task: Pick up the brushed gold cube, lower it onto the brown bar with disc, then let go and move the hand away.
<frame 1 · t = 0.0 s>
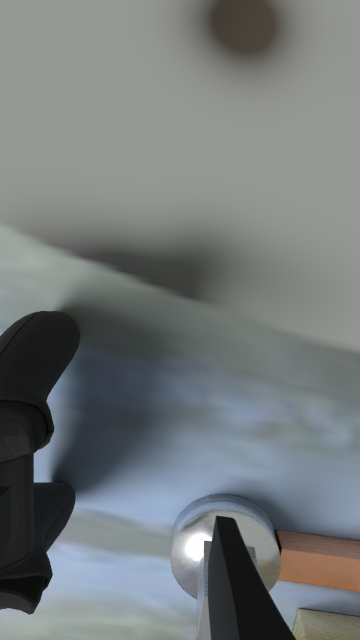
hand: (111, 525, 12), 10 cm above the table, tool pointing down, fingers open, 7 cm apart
brown bar with disc: (223, 537, 24), on the table
gaming controller: (58, 409, 23), on the table
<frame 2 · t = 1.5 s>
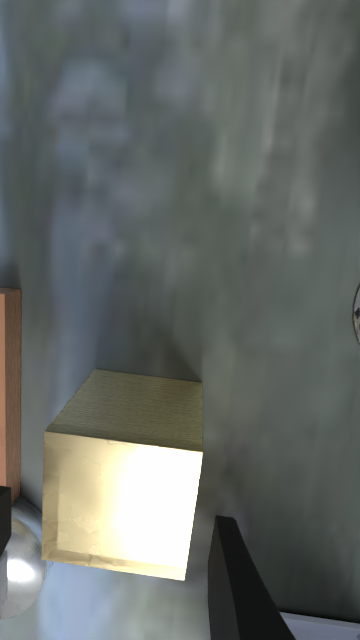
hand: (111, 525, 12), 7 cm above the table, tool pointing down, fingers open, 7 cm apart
brushed gold cube: (143, 424, 19), on the table
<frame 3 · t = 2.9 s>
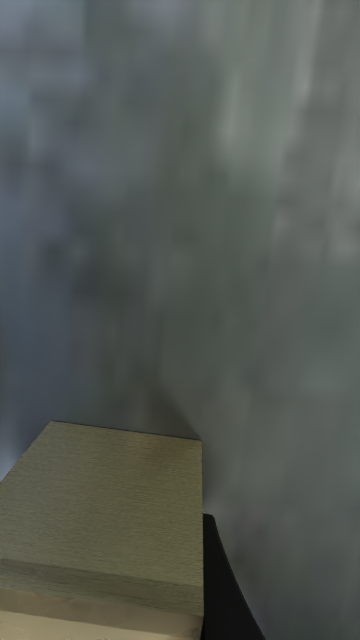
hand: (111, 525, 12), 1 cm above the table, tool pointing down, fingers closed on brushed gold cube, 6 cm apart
brushed gold cube: (120, 495, 13), on the table, touching gripper
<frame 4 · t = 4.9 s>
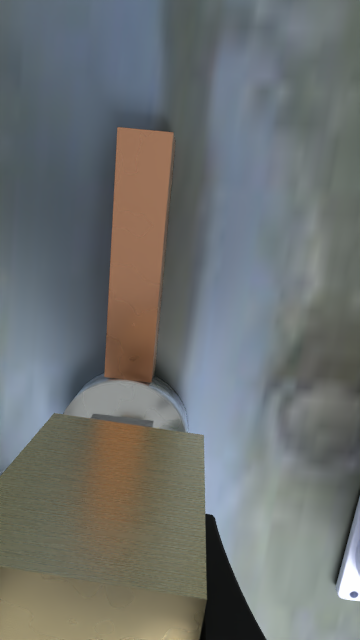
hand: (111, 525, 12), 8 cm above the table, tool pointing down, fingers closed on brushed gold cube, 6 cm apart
brown bar with disc: (129, 424, 20), on the table
brushed gold cube: (121, 488, 13), point 7 cm above the table, touching gripper
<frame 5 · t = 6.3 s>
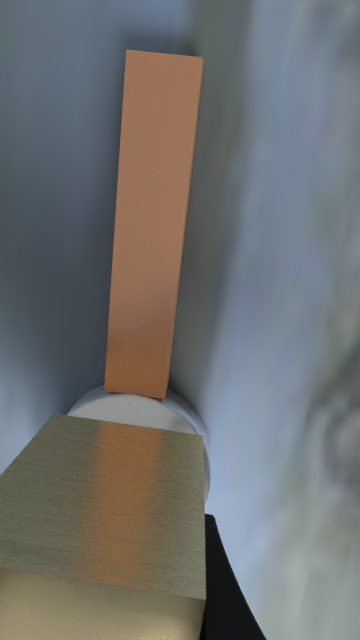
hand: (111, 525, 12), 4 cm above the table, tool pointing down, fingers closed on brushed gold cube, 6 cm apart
brown bar with disc: (134, 448, 16), on the table
brushed gold cube: (121, 489, 13), point 3 cm above the table, touching gripper
when the fingers open (4 cm above the table, at t = 7.2 s): brushed gold cube stays where it is, resting on brown bar with disc.
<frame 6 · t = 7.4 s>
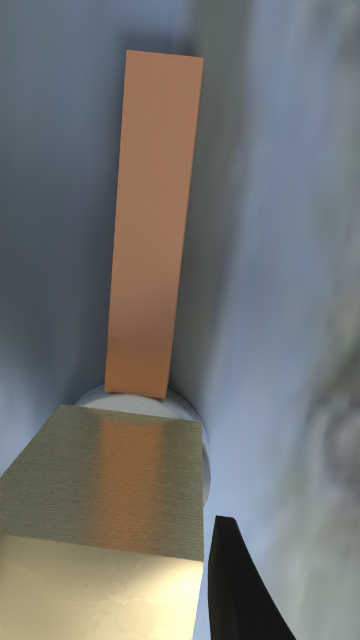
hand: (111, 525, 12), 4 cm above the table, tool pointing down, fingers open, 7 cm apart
brown bar with disc: (134, 448, 16), on the table, touching brushed gold cube
brushed gold cube: (125, 474, 14), point 2 cm above the table, touching brown bar with disc
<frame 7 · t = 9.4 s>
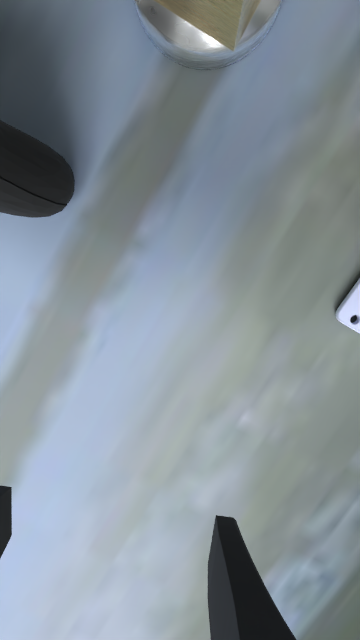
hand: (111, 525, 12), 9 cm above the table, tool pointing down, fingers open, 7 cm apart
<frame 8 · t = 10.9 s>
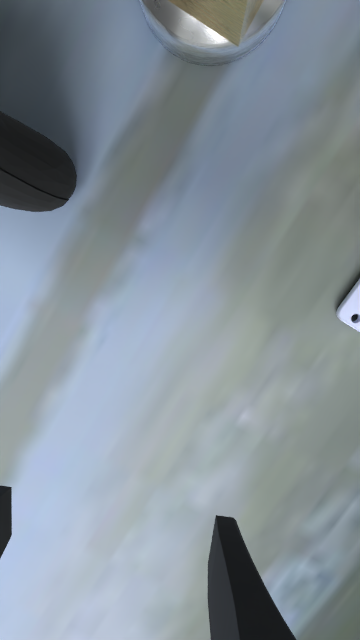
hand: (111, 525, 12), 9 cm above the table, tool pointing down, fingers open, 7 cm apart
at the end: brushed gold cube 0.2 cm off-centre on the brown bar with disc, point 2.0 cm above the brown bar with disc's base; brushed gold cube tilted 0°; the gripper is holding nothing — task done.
